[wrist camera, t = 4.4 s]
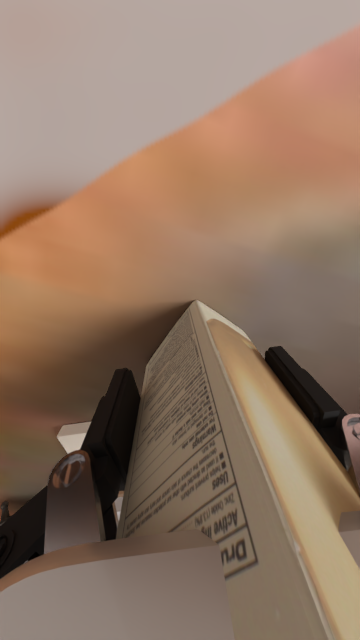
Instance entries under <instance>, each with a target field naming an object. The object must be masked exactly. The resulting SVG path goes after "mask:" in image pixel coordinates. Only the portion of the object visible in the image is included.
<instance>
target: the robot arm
mask: <svg viewBox="0 0 360 640" xmlns="http://www.w3.org/2000/svg"><path fill="white" fill-rule="evenodd" d="M265 361H266V362H267V364H268V365H269V366H270V368H271V369H272V370H273V372H274V373H275V374H276V376H277V377H278V378H279V380H280V381H281V382H282V384H283V385H284V386H285V388H286V389H287V390H288V392H289V393H290V395H291V396H292V397H293V399H294V400H295V401H296V403H297V404H298V406H299V407H300V408H301V410H302V411H303V412H304V414H305V415H306V416H307V418H308V419H309V420H310V422H311V423H312V424H313V426H314V427H315V429H316V430H317V431H318V433H319V434H320V435H321V437H322V438H323V439H324V441H325V442H326V443H327V445H328V446H329V447H330V449H331V450H332V452H333V453H334V454H335V456H336V457H337V458H338V460H339V461H340V462H341V464H342V465H343V466H344V468H345V469H346V470H347V472H348V473H349V475H350V477H351V479H352V481H353V484H354V486H355V488H356V490H357V492H358V494H359V496H360V414H348V415H347V414H346V412H345V411H344V410H343V409H342V408H341V407H340V406H339V405H338V404H337V403H336V402H335V401H334V400H333V399H332V398H331V396H330V395H329V394H328V393H327V392H326V391H325V390H324V389H323V388H322V387H321V386H320V385H319V384H318V383H317V382H316V381H315V379H314V378H313V377H312V376H311V375H310V374H309V373H308V372H307V371H306V370H304V369H302V368H301V367H300V366H299V365H298V364H297V363H296V362H295V361H294V360H293V358H292V357H291V356H290V355H289V354H288V353H287V352H286V351H285V350H284V349H283V348H282V347H281V346H277V347H270V348H269V349H268V351H266V352H265ZM140 399H141V398H140V395H139V392H138V389H137V386H136V383H135V380H134V377H133V374H132V371H131V370H128V369H127V368H123V369H117V370H116V371H115V373H114V375H113V378H112V381H111V383H110V386H109V388H108V391H107V393H106V396H103V397H102V398H101V400H100V402H99V404H98V407H97V409H96V412H95V414H94V416H93V419H92V421H91V424H90V426H89V429H88V431H87V433H86V436H85V438H84V441H83V443H82V446H81V448H80V450H75V451H73V452H70V453H68V454H67V455H65V456H64V457H63V458H62V459H61V460H60V461H59V462H58V463H57V464H56V465H55V467H54V468H53V469H52V471H51V474H50V476H49V480H48V485H47V486H46V487H45V488H44V489H43V490H41V491H40V492H39V493H38V494H37V495H36V496H34V497H33V498H32V499H31V500H30V501H29V502H27V503H26V504H25V505H24V506H23V507H22V508H20V509H19V510H18V511H17V512H16V513H15V514H13V515H12V516H11V517H10V518H9V519H8V520H7V521H5V522H4V523H3V524H2V525H1V526H0V640H235V638H234V632H233V626H232V620H231V614H230V608H229V602H228V596H227V590H226V583H225V577H224V571H223V565H222V559H221V553H220V547H219V545H218V544H217V543H216V542H214V541H213V540H212V539H210V538H209V537H208V536H206V535H205V534H204V533H202V532H201V531H200V530H198V529H194V530H186V531H178V532H170V533H162V534H153V535H145V536H137V537H129V538H122V539H116V534H117V529H118V523H119V520H118V516H117V511H116V506H115V500H116V499H117V498H118V494H119V491H124V490H125V484H126V479H127V473H128V468H129V462H130V456H131V450H132V445H133V439H134V433H135V428H136V422H137V416H138V411H139V405H140ZM339 534H340V536H341V537H342V539H343V541H344V543H345V545H346V546H347V548H348V550H349V552H350V553H351V555H352V557H353V559H354V560H355V562H356V564H357V566H358V567H359V569H360V511H351V512H341V516H340V521H339Z"/></svg>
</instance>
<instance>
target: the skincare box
mask: <svg viewBox="0 0 360 640" xmlns="http://www.w3.org/2000/svg"><path fill="white" fill-rule="evenodd" d="M351 511H360V496H359V494H358V492H357V490H356V488H355V486H354V484H353V481H352V479H351V477H350V475H349V473H348V472H347V470H346V469H345V468H344V466H343V465H342V464H341V462H340V461H339V460H338V458H337V457H336V456H335V454H334V453H333V452H332V450H331V449H330V447H329V446H328V445H327V443H326V442H325V441H324V439H323V438H322V437H321V435H320V434H319V433H318V431H317V430H316V429H315V427H314V426H313V424H312V423H311V422H310V420H309V419H308V418H307V416H306V415H305V414H304V412H303V411H302V410H301V408H300V407H299V406H298V404H297V403H296V401H295V400H294V399H293V397H292V396H291V395H290V393H289V392H288V390H287V389H286V388H285V386H284V385H283V384H282V382H281V381H280V380H279V378H278V377H277V376H276V374H275V373H274V372H273V370H272V369H271V368H270V366H269V365H268V364H267V362H266V361H265V360H264V358H263V357H262V356H261V354H260V353H259V352H258V350H257V349H256V347H255V346H254V345H253V343H252V342H251V341H250V339H249V338H248V336H247V335H246V334H245V333H244V331H242V330H241V329H240V328H238V327H237V326H235V325H234V324H233V323H231V322H230V321H228V320H227V319H226V318H224V317H223V316H221V315H220V314H218V313H217V312H215V311H214V310H212V309H211V308H209V307H208V306H206V305H205V304H203V303H201V302H200V301H197V300H195V301H193V302H192V304H191V305H190V306H189V307H188V309H187V310H186V311H185V312H184V314H183V315H182V316H181V318H180V319H179V320H178V322H177V323H176V324H175V325H174V327H173V328H172V329H171V331H170V332H169V334H168V335H167V336H166V338H165V339H164V341H163V342H162V343H161V345H160V346H159V348H158V349H157V350H156V352H155V353H154V355H153V356H152V358H151V359H150V361H149V362H148V364H147V366H146V370H145V376H144V382H143V387H142V393H141V399H140V405H139V411H138V416H137V422H136V428H135V433H134V439H133V445H132V450H131V456H130V462H129V468H128V473H127V479H126V484H125V490H124V495H123V501H122V507H121V512H120V518H119V523H118V529H117V534H116V539H122V538H129V537H137V536H145V535H153V534H162V533H170V532H178V531H186V530H194V529H198V530H200V531H201V532H202V533H204V534H205V535H206V536H208V537H209V538H210V539H212V540H213V541H214V542H216V543H217V544H218V545H219V547H220V553H221V559H222V565H223V571H224V577H225V583H226V590H227V596H228V602H229V608H230V614H231V620H232V626H233V632H234V638H235V640H360V569H359V567H358V566H357V564H356V562H355V560H354V559H353V557H352V555H351V553H350V552H349V550H348V548H347V546H346V545H345V543H344V541H343V539H342V537H341V536H340V534H339V521H340V516H341V512H351Z"/></svg>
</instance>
